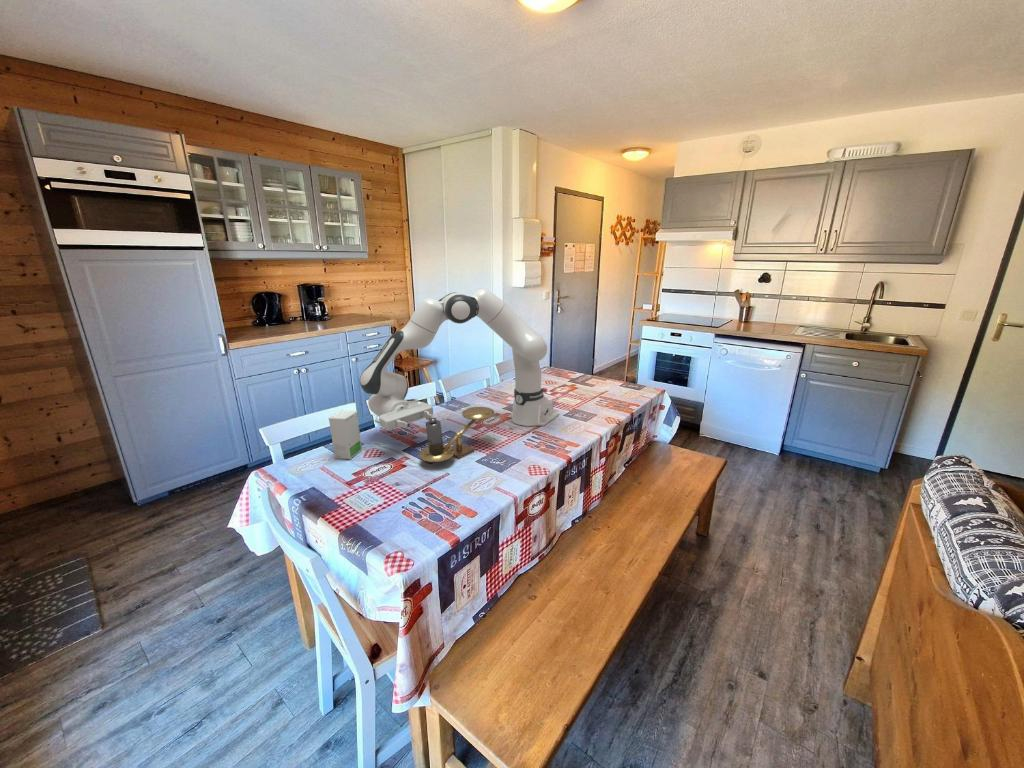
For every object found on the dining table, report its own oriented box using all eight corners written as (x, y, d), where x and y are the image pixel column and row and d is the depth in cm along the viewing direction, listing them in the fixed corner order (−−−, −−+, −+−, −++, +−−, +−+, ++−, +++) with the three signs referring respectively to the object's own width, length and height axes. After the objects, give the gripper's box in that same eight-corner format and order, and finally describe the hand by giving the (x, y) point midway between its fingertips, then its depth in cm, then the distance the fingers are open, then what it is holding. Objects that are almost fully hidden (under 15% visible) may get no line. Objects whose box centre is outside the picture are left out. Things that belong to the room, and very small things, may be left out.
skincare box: (350, 460, 144) (344, 419, 139) (333, 458, 145) (327, 417, 141) (362, 449, 152) (357, 410, 147) (346, 448, 153) (341, 409, 149)
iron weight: (438, 447, 145) (434, 414, 141) (446, 451, 142) (443, 418, 137) (426, 452, 141) (422, 419, 137) (435, 457, 138) (431, 423, 134)
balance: (480, 433, 165) (479, 404, 161) (501, 442, 157) (500, 411, 153) (412, 462, 142) (409, 429, 138) (434, 474, 134) (431, 439, 131)
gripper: (371, 411, 145) (392, 421, 136) (419, 397, 159) (441, 405, 150) (373, 428, 147) (394, 438, 138) (420, 412, 161) (442, 421, 152)
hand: (419, 421), depth 144 cm, fingers open, 8 cm apart
